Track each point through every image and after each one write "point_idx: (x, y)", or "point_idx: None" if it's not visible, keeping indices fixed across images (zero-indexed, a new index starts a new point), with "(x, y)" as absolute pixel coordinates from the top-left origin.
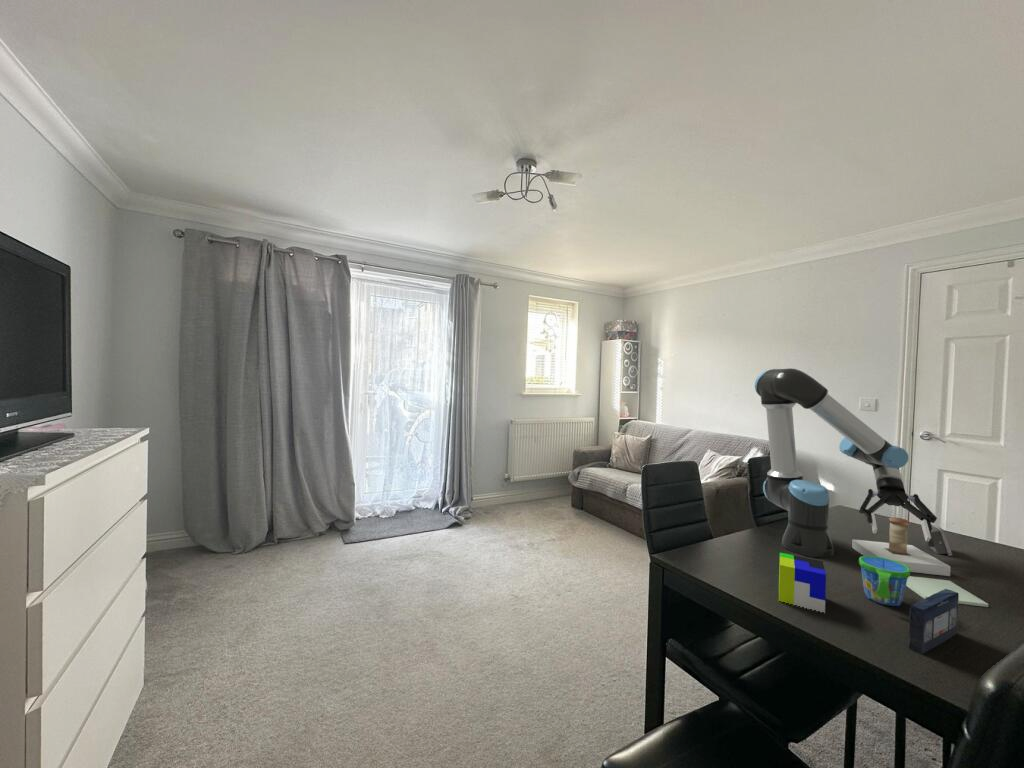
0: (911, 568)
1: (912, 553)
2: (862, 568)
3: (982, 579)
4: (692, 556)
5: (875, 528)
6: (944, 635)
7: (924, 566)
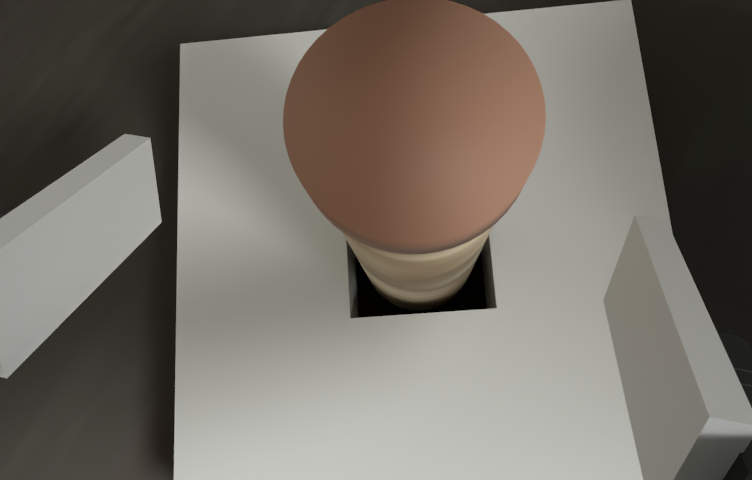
0: None
1: (305, 248)
2: None
3: (32, 103)
4: None
5: (659, 225)
6: None
7: None
